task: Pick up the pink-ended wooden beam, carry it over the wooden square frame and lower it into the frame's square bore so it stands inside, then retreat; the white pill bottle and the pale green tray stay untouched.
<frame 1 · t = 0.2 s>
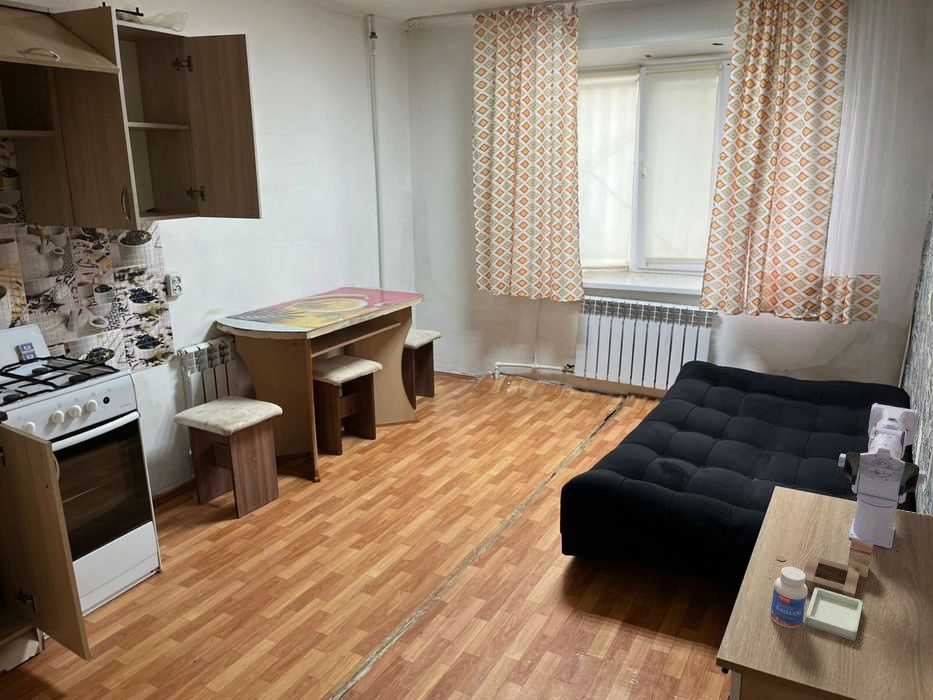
hand: (876, 485, 130), 21 cm above the table, tool horizontal, fingers open, 7 cm apart
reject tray: (833, 616, 128), on the table
wooden square frame: (829, 584, 137), on the table
pink-ended wooden beam: (857, 569, 141), on the table
pill bottle: (786, 620, 127), on the table
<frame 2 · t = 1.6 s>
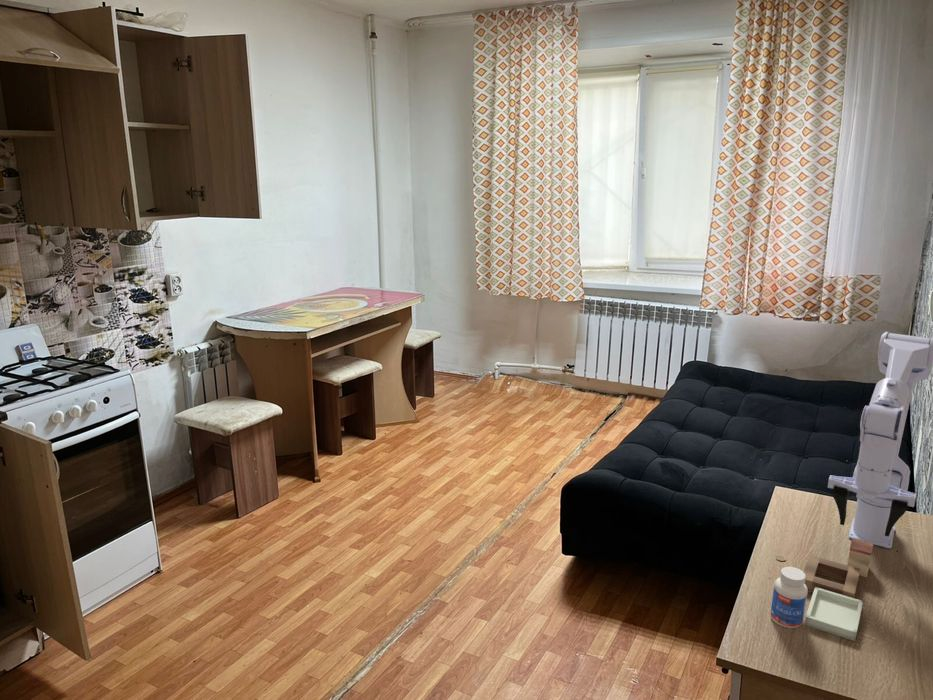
hand: (864, 528, 138), 9 cm above the table, tool pointing down, fingers open, 7 cm apart
nothing on the table moved.
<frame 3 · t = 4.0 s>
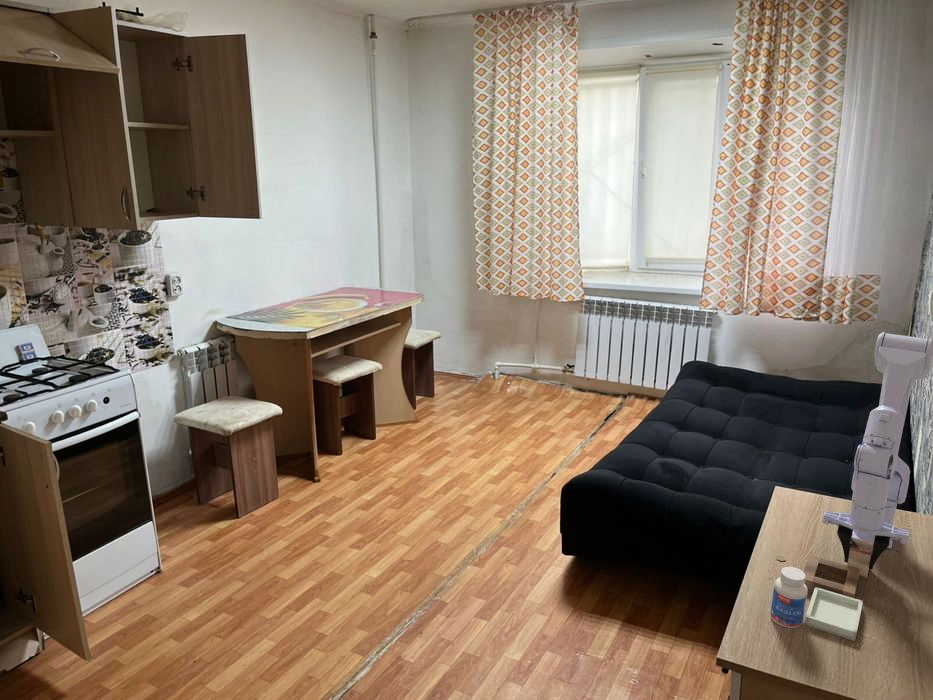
hand: (858, 563, 140), 1 cm above the table, tool pointing down, fingers closed on pink-ended wooden beam, 4 cm apart
pink-ended wooden beam: (857, 569, 141), on the table, touching gripper
everything else where it was.
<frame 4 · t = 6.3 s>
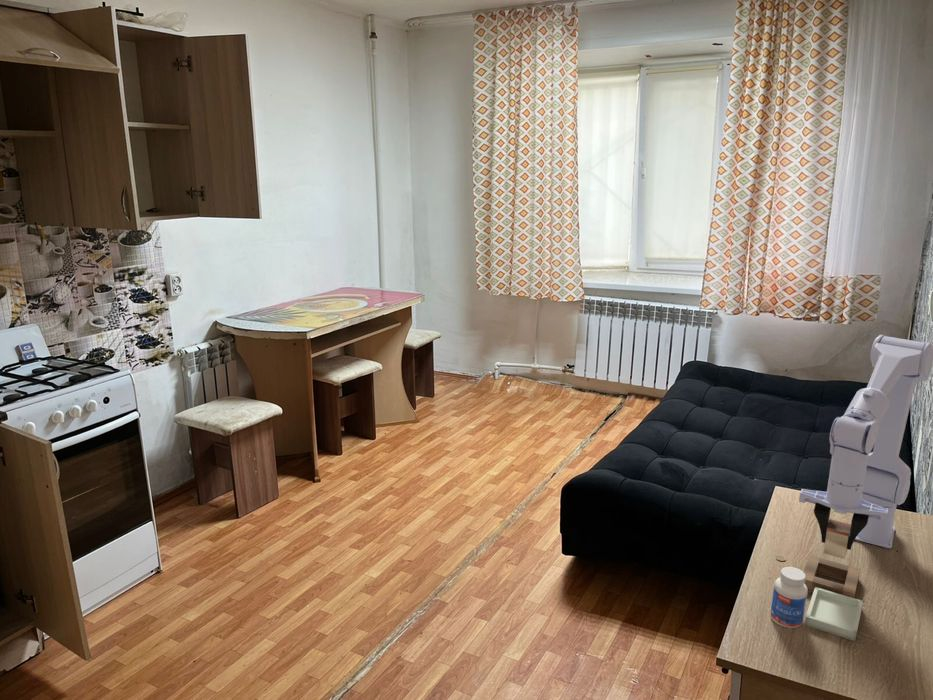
hand: (836, 543, 134), 9 cm above the table, tool pointing down, fingers closed on pink-ended wooden beam, 4 cm apart
pink-ended wooden beam: (835, 551, 134), point 7 cm above the table, touching gripper
everything else where it was.
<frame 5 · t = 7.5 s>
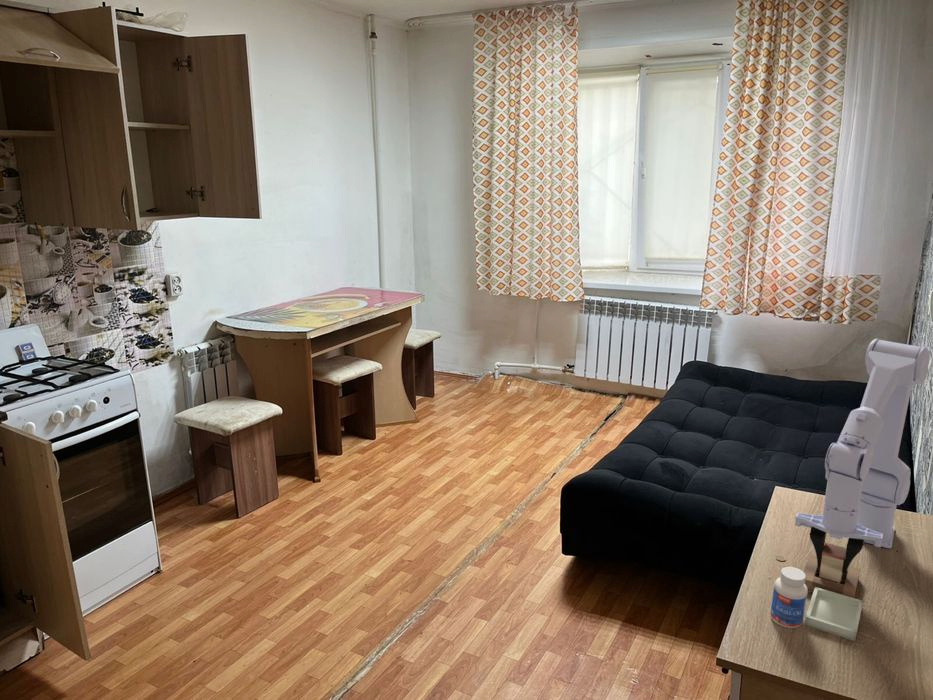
hand: (832, 567, 135), 4 cm above the table, tool pointing down, fingers closed on pink-ended wooden beam, 4 cm apart
pink-ended wooden beam: (830, 574, 136), point 2 cm above the table, touching gripper
everything else where it was.
when the fingers open (3 cm above the table, at t = 8.7 s): pink-ended wooden beam stays where it is, resting in wooden square frame.
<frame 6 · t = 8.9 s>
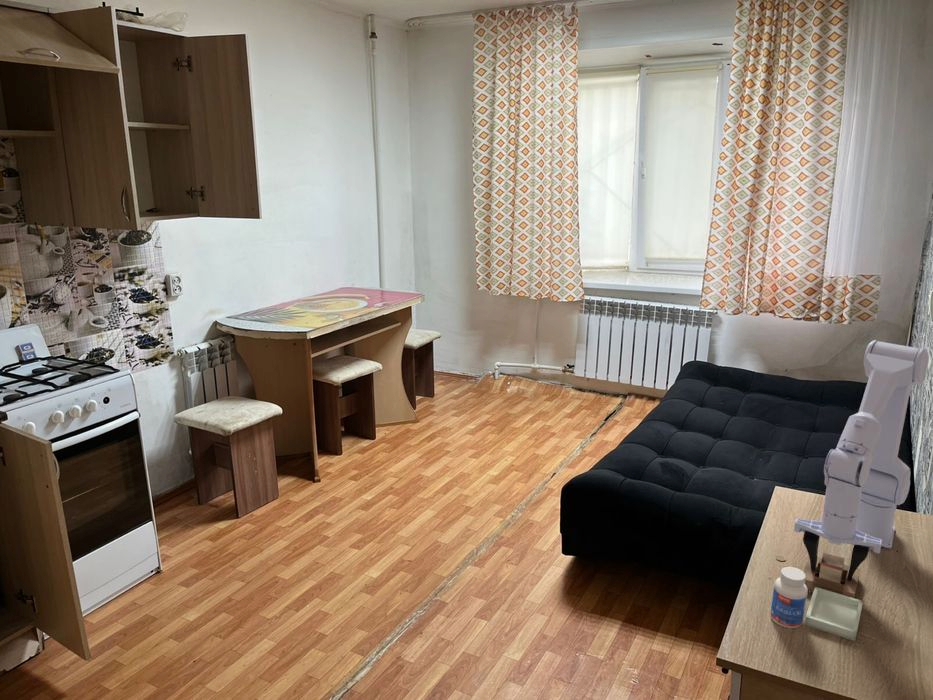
hand: (831, 572, 136), 3 cm above the table, tool pointing down, fingers open, 6 cm apart
pink-ended wooden beam: (829, 584, 136), resting in wooden square frame
everything else where it was.
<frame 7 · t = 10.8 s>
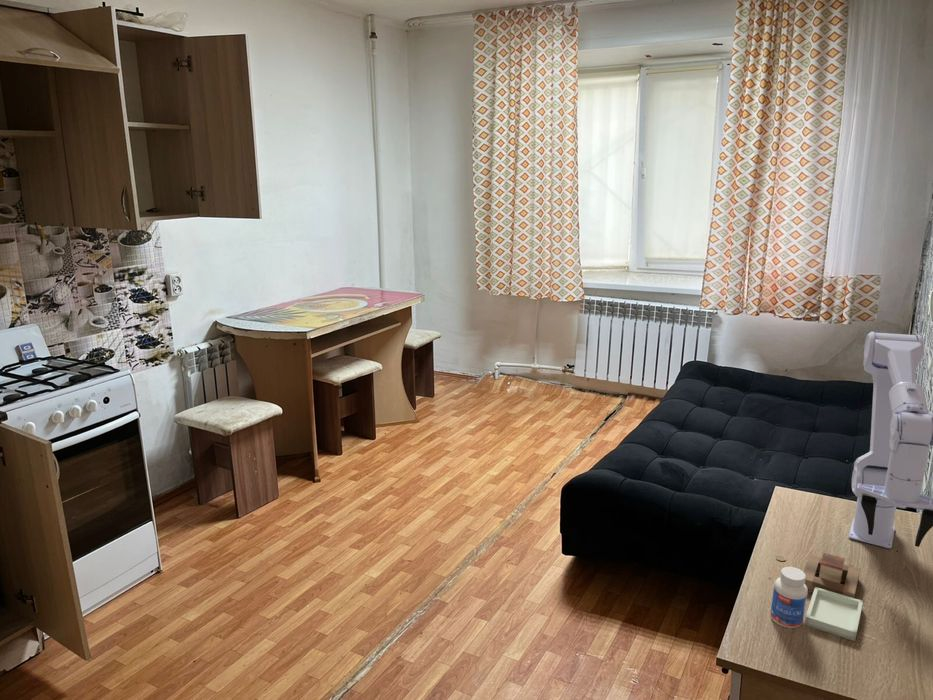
hand: (893, 538, 134), 9 cm above the table, tool pointing down, fingers open, 7 cm apart
nothing on the table moved.
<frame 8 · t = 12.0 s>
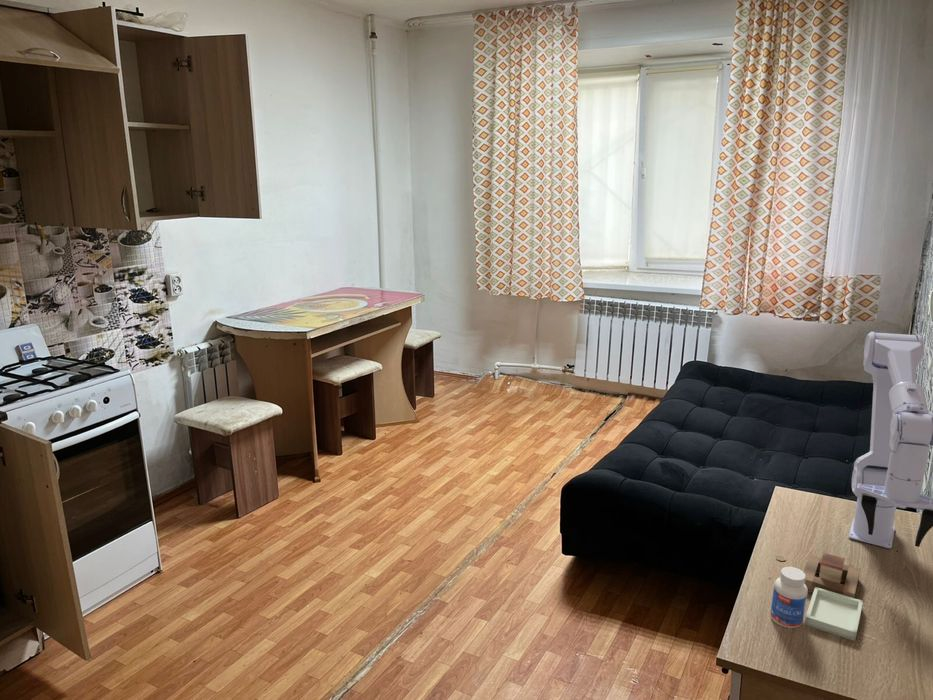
hand: (893, 538, 134), 9 cm above the table, tool pointing down, fingers open, 7 cm apart
nothing on the table moved.
at the end: pink-ended wooden beam 0.2 cm off-centre on the wooden square frame, point 0.0 cm above the wooden square frame's base; pink-ended wooden beam tilted 0°; the gripper is holding nothing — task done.
